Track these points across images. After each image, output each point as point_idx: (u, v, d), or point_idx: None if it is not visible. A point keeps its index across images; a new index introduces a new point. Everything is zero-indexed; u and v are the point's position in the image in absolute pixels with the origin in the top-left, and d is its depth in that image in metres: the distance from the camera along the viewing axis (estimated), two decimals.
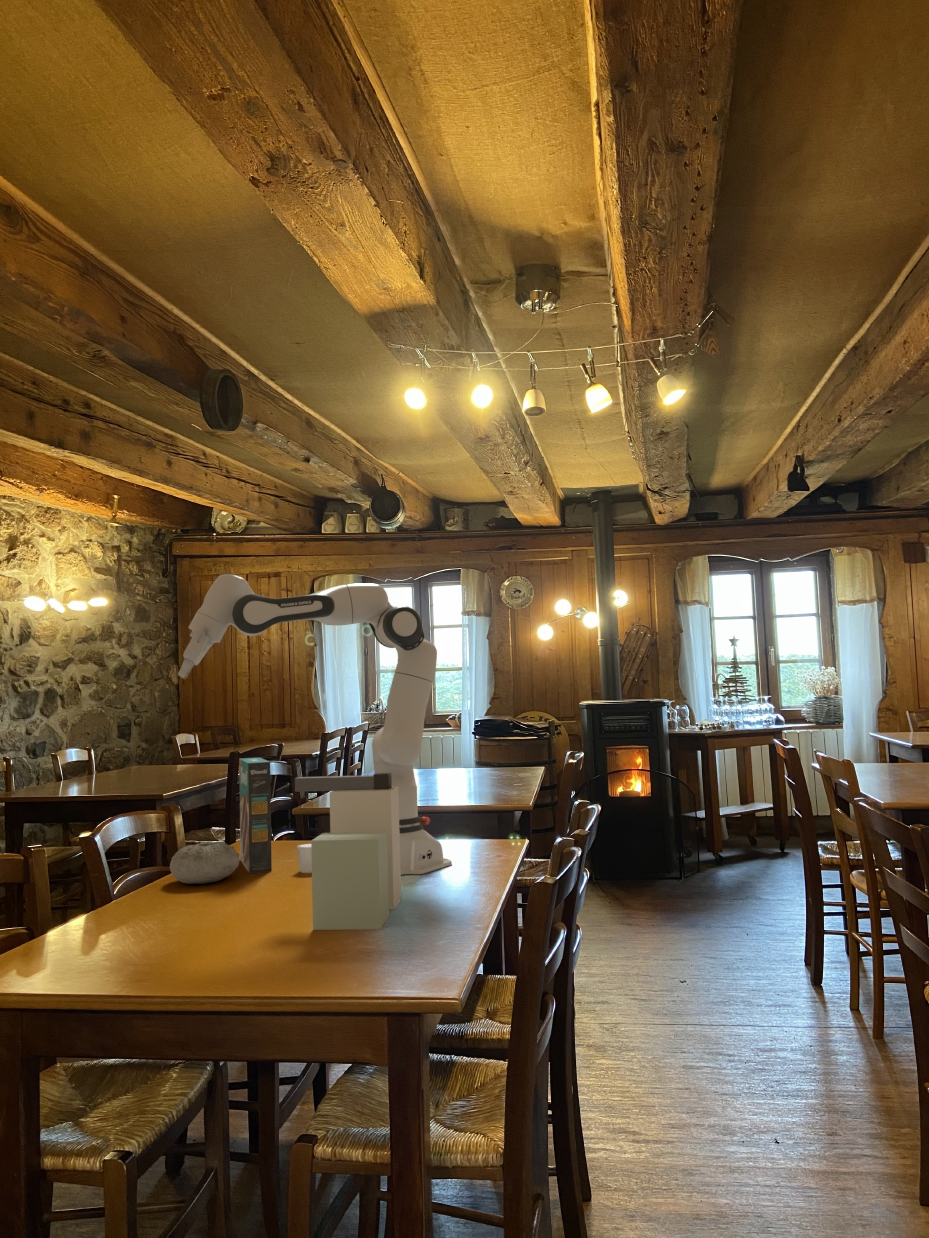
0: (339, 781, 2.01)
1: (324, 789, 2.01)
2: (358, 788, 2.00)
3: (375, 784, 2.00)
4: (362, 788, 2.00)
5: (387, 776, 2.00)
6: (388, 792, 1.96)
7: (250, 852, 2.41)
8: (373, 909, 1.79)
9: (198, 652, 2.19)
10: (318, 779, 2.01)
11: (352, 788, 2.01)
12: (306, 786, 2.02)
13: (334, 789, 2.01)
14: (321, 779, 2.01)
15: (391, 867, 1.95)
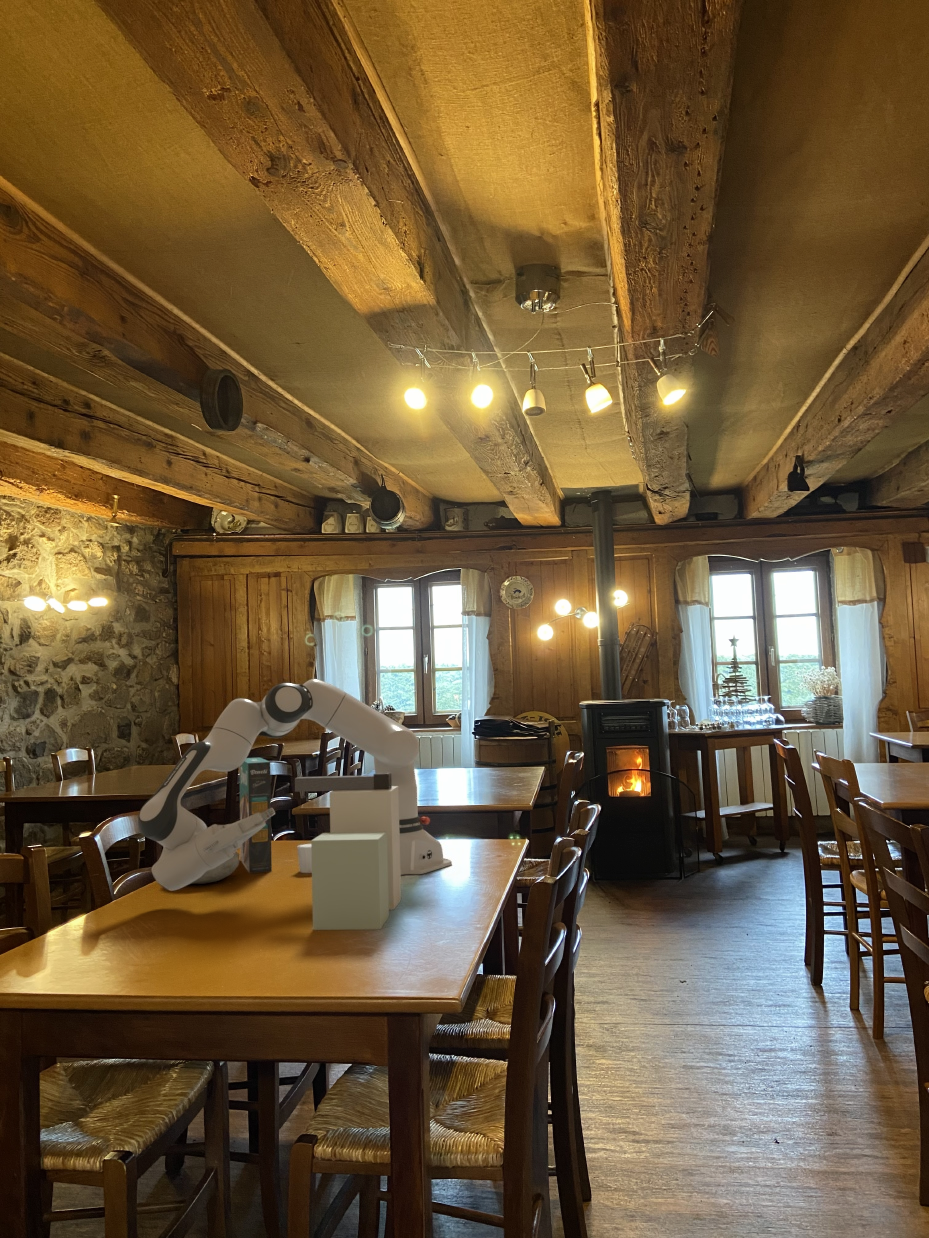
0: (339, 781, 2.01)
1: (324, 789, 2.01)
2: (358, 788, 2.00)
3: (375, 784, 2.00)
4: (362, 788, 2.00)
5: (387, 776, 2.00)
6: (388, 792, 1.96)
7: (250, 852, 2.41)
8: (373, 909, 1.79)
9: (223, 830, 1.94)
10: (318, 779, 2.01)
11: (352, 788, 2.01)
12: (306, 786, 2.02)
13: (334, 789, 2.01)
14: (321, 779, 2.01)
15: (391, 867, 1.95)
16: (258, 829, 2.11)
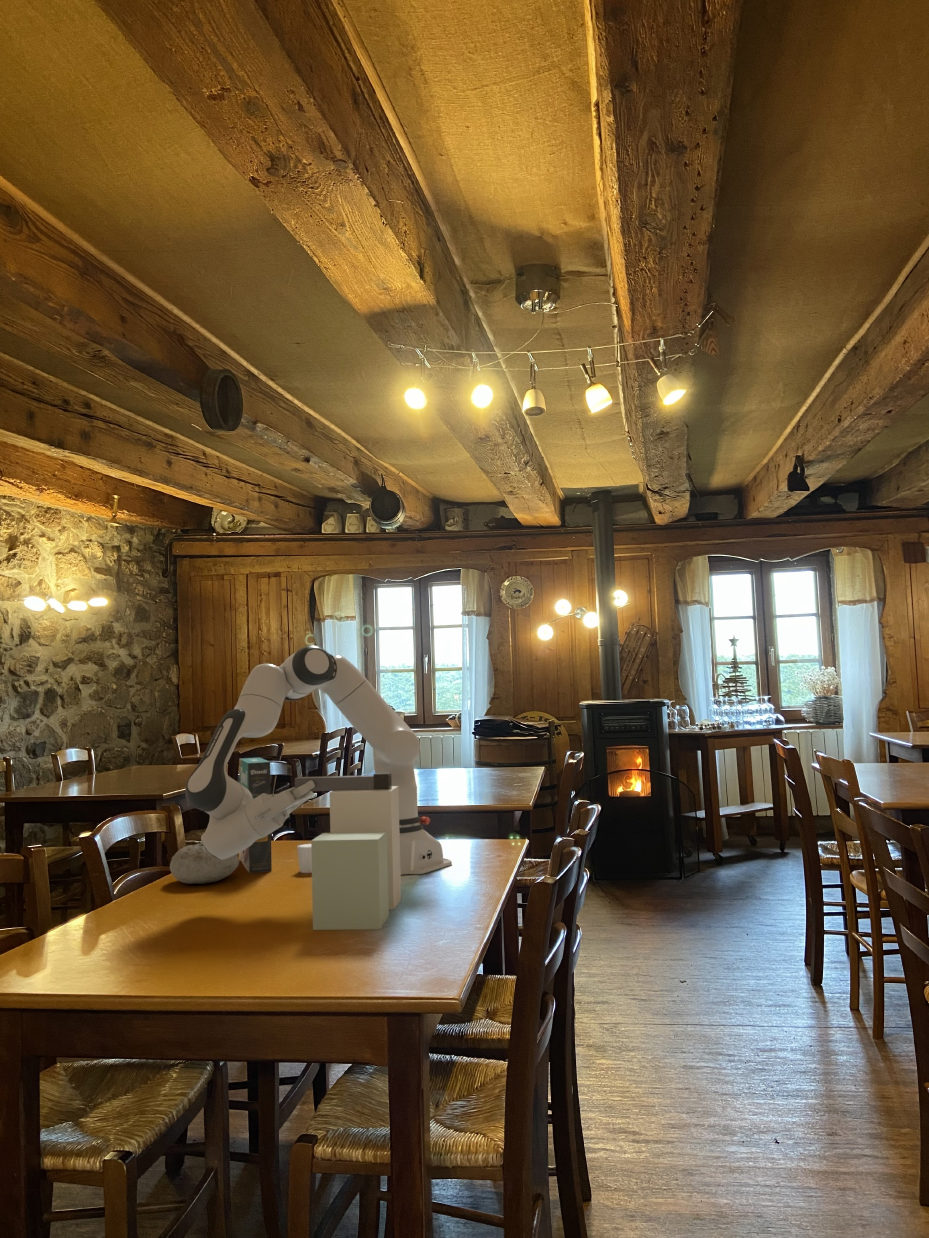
0: (339, 781, 2.01)
1: (324, 789, 2.01)
2: (358, 788, 2.00)
3: (375, 784, 2.00)
4: (362, 788, 2.00)
5: (387, 776, 2.00)
6: (388, 792, 1.96)
7: (250, 852, 2.41)
8: (373, 909, 1.79)
9: (275, 797, 1.93)
10: (318, 779, 2.01)
11: (352, 788, 2.01)
12: None
13: (334, 789, 2.01)
14: (321, 779, 2.01)
15: (391, 867, 1.95)
16: (306, 799, 2.11)
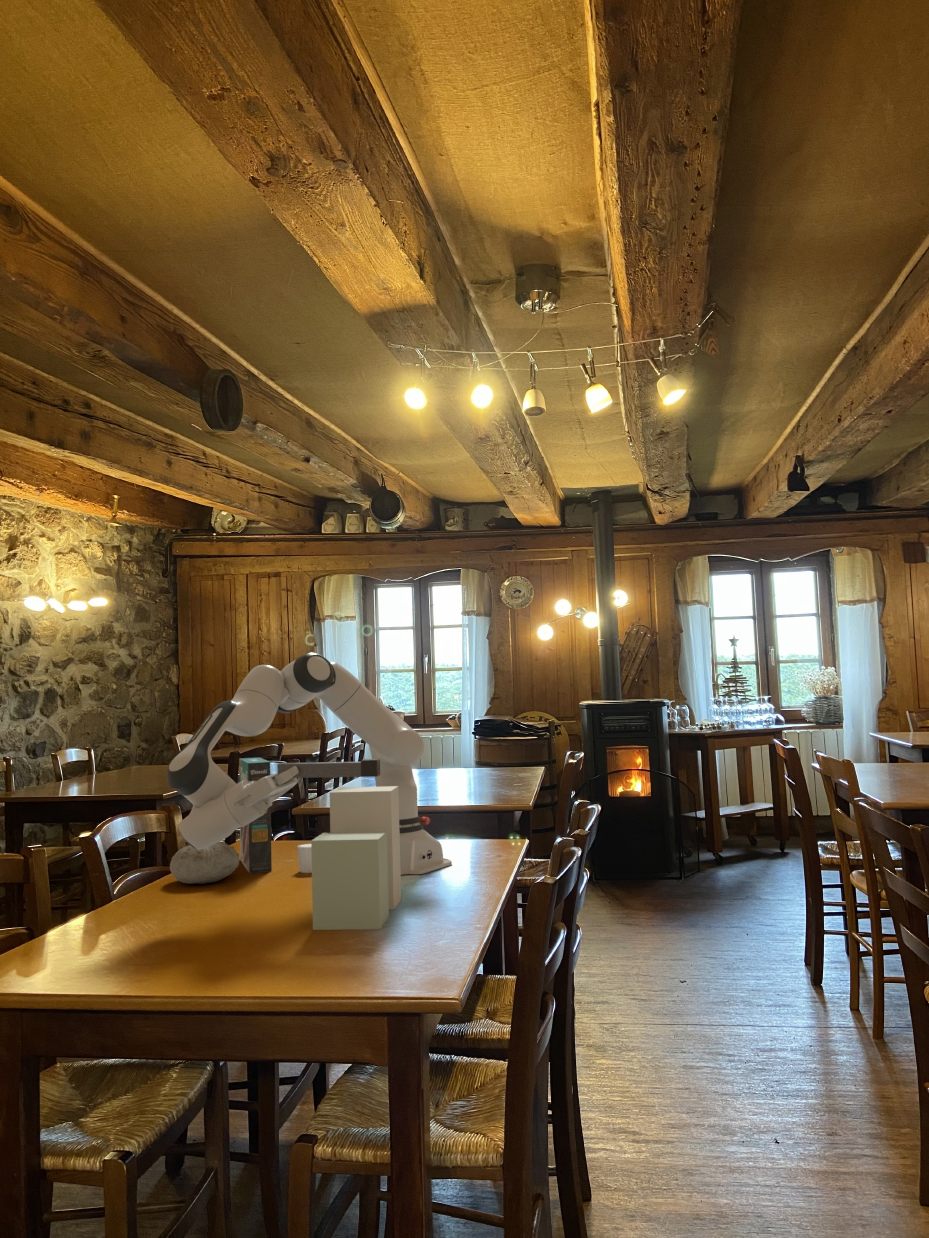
0: (325, 767, 1.89)
1: (308, 776, 1.90)
2: (344, 775, 1.89)
3: (362, 771, 1.88)
4: (349, 775, 1.89)
5: (375, 762, 1.88)
6: (388, 792, 1.96)
7: (250, 852, 2.41)
8: (373, 909, 1.79)
9: (256, 784, 1.82)
10: (302, 765, 1.90)
11: (338, 775, 1.89)
12: None
13: (319, 776, 1.89)
14: (305, 765, 1.90)
15: (391, 867, 1.95)
16: (290, 786, 1.99)
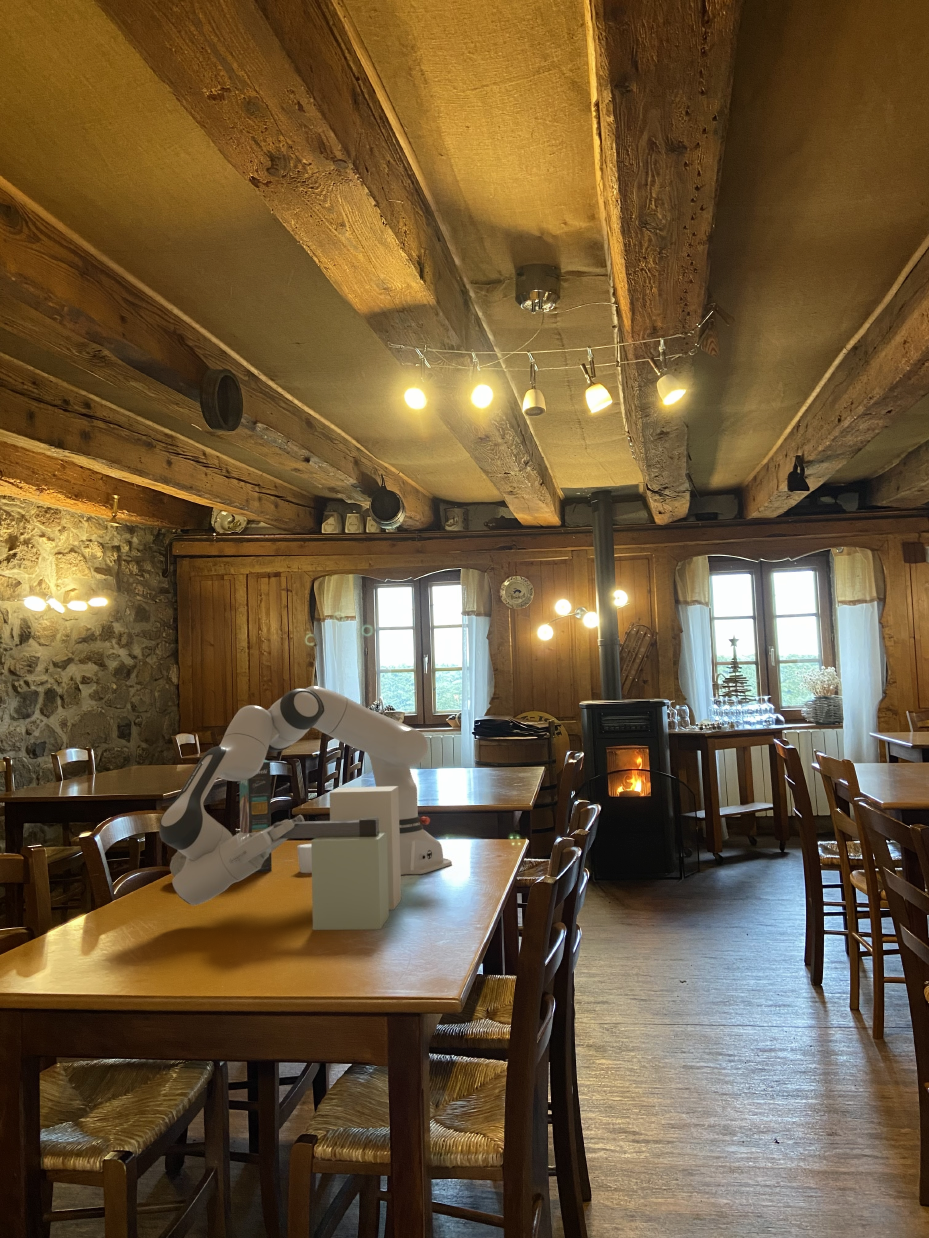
0: (322, 827, 1.84)
1: (305, 836, 1.85)
2: (342, 835, 1.84)
3: (361, 831, 1.83)
4: (347, 835, 1.84)
5: (374, 822, 1.83)
6: (388, 792, 1.96)
7: None
8: (373, 909, 1.79)
9: (251, 840, 1.77)
10: (299, 825, 1.85)
11: (336, 835, 1.84)
12: (286, 833, 1.85)
13: (316, 836, 1.84)
14: (302, 825, 1.85)
15: (391, 867, 1.95)
16: None
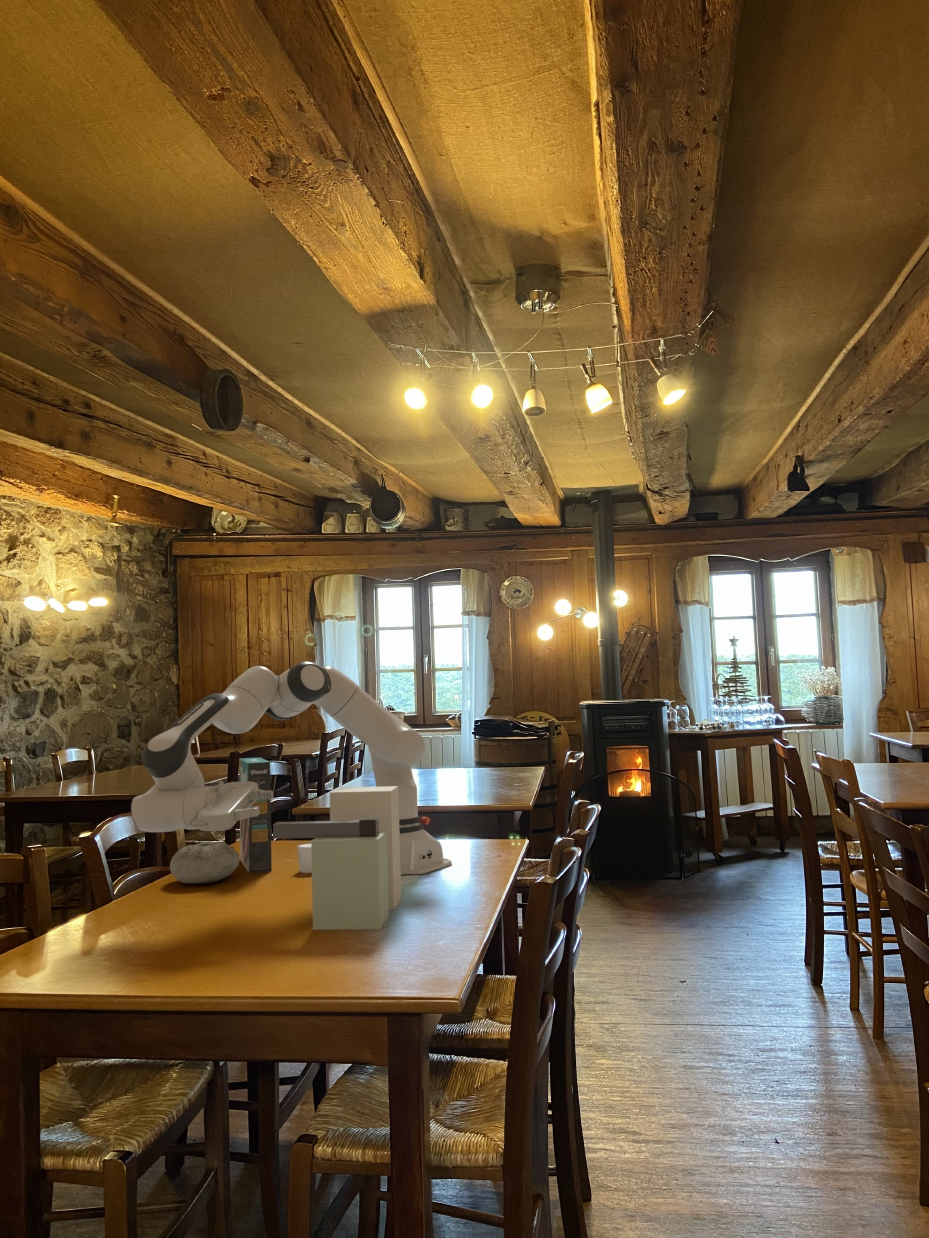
0: (322, 827, 1.84)
1: (305, 836, 1.85)
2: (342, 835, 1.84)
3: (361, 831, 1.83)
4: (347, 835, 1.84)
5: (374, 822, 1.83)
6: (388, 792, 1.96)
7: (250, 852, 2.41)
8: (373, 909, 1.79)
9: (217, 817, 1.80)
10: (299, 825, 1.85)
11: (336, 835, 1.84)
12: (286, 833, 1.85)
13: (316, 836, 1.84)
14: (302, 825, 1.85)
15: (391, 867, 1.95)
16: None
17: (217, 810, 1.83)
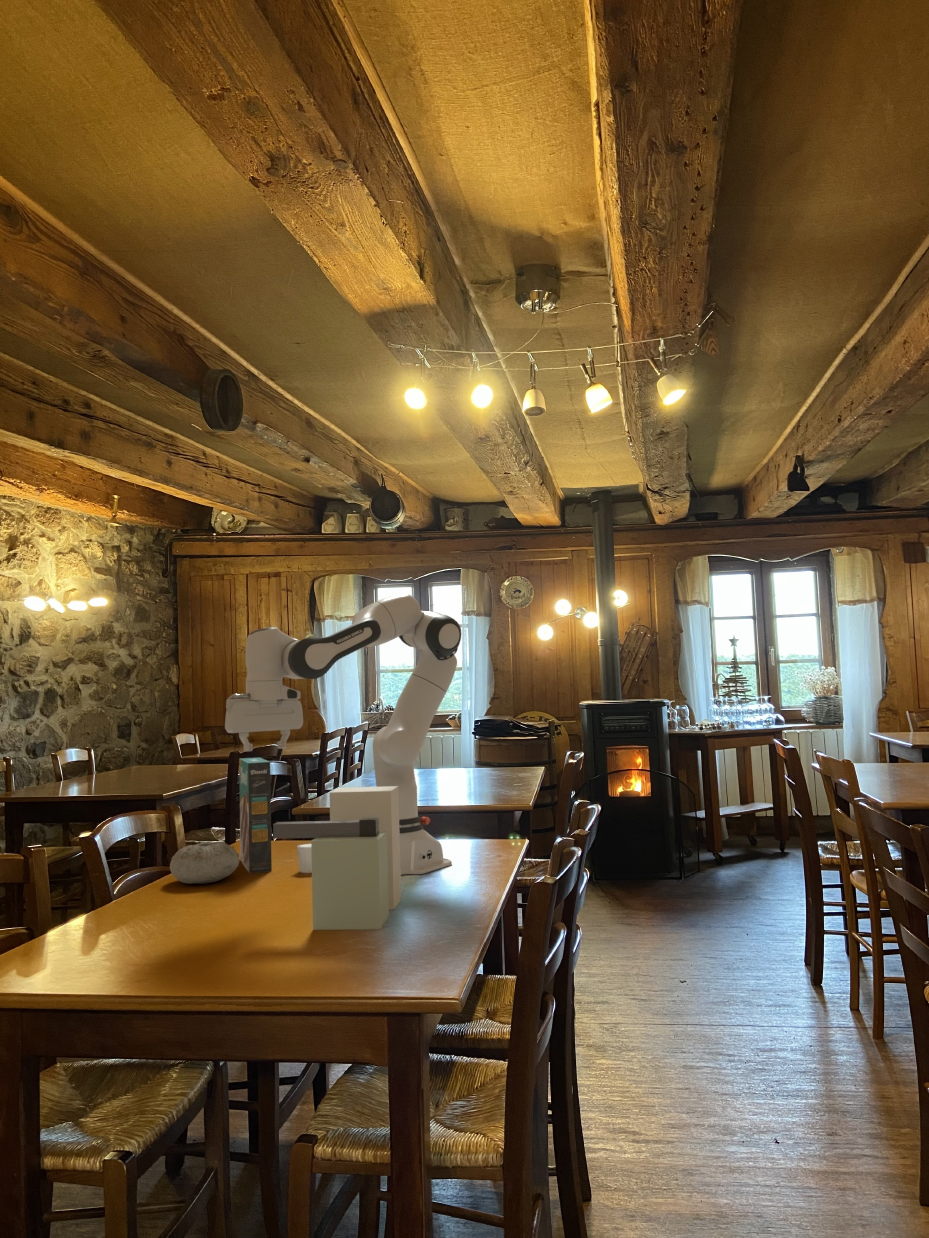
0: (322, 827, 1.84)
1: (305, 836, 1.85)
2: (342, 835, 1.84)
3: (361, 831, 1.83)
4: (347, 835, 1.84)
5: (374, 822, 1.83)
6: (388, 792, 1.96)
7: (250, 852, 2.41)
8: (373, 909, 1.79)
9: (231, 723, 2.06)
10: (299, 825, 1.85)
11: (336, 835, 1.84)
12: (286, 833, 1.85)
13: (316, 836, 1.84)
14: (302, 825, 1.85)
15: (391, 867, 1.95)
16: None
17: (242, 718, 2.08)
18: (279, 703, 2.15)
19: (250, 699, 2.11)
